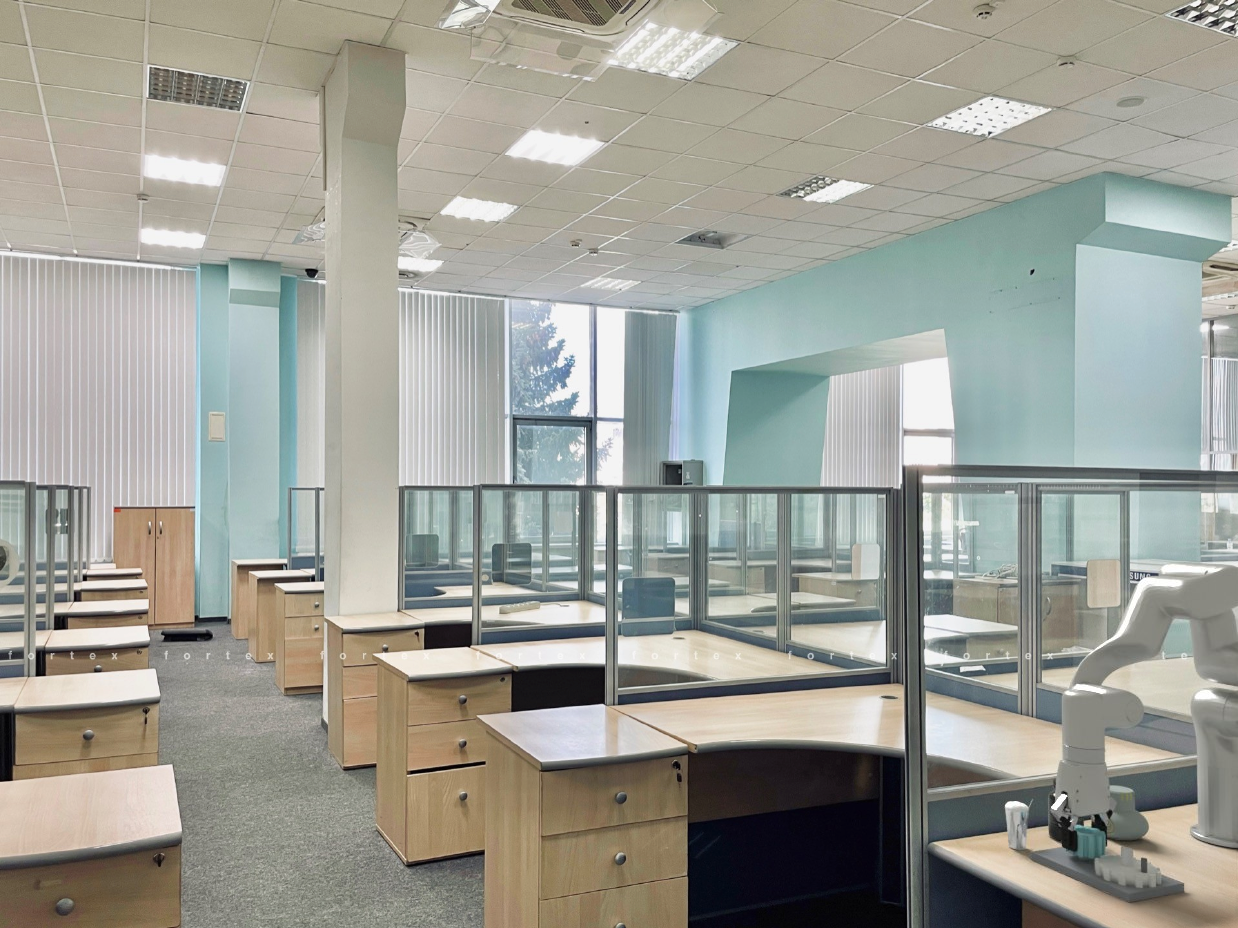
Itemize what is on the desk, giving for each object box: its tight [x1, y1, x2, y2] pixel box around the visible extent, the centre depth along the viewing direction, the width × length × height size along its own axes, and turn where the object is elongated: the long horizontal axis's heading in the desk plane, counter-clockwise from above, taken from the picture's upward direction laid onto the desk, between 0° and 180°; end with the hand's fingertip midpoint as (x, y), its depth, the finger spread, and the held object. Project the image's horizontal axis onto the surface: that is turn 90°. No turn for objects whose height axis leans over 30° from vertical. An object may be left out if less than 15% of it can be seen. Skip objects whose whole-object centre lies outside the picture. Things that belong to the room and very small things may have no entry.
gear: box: [1064, 825, 1107, 859], centre depth 183 cm, size 7×7×4 cm
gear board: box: [1030, 846, 1185, 903], centre depth 179 cm, size 14×22×6 cm, turn 22°
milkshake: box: [1004, 798, 1034, 851], centre depth 193 cm, size 4×5×10 cm
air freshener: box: [1090, 784, 1150, 841], centre depth 201 cm, size 11×8×10 cm
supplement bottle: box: [1047, 777, 1085, 843], centre depth 199 cm, size 7×7×12 cm
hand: (1084, 846), depth 183 cm, fingers closed on gear, 7 cm apart
